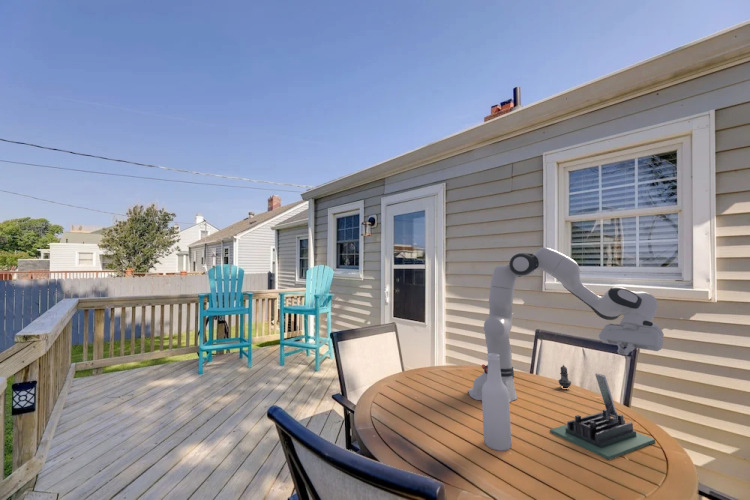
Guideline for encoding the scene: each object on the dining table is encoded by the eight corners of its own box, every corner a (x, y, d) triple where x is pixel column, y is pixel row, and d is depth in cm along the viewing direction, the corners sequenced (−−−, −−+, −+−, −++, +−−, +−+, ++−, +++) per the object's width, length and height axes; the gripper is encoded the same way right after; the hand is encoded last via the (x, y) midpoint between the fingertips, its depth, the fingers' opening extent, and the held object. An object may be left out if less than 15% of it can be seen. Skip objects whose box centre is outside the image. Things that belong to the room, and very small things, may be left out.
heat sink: (600, 422, 120) (598, 404, 121) (636, 435, 109) (634, 416, 110) (565, 432, 112) (564, 413, 113) (601, 448, 101) (599, 427, 102)
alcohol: (500, 454, 100) (496, 358, 103) (478, 443, 107) (474, 353, 110) (517, 447, 104) (512, 355, 108) (494, 436, 112) (490, 350, 115)
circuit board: (594, 419, 125) (594, 416, 125) (655, 442, 107) (654, 439, 107) (550, 432, 114) (549, 429, 114) (609, 460, 96) (608, 456, 96)
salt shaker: (573, 390, 158) (572, 366, 159) (561, 390, 159) (559, 365, 161) (569, 387, 164) (567, 363, 165) (556, 386, 165) (555, 363, 166)
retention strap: (608, 416, 116) (609, 414, 116) (617, 419, 113) (618, 417, 113) (594, 374, 115) (596, 373, 115) (603, 376, 112) (605, 375, 113)
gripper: (602, 318, 134) (590, 343, 129) (661, 323, 116) (649, 353, 111) (610, 328, 136) (598, 353, 131) (669, 335, 117) (657, 365, 112)
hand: (622, 353), depth 120 cm, fingers closed
